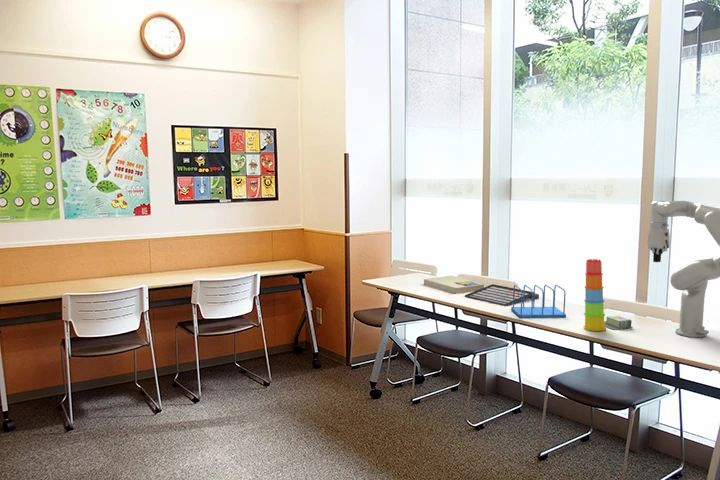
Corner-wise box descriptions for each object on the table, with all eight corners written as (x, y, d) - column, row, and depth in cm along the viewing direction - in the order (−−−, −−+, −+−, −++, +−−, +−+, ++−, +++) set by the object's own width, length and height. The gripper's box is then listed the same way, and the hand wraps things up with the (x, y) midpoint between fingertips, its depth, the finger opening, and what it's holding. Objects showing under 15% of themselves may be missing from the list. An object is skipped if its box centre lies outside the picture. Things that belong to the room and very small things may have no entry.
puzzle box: (451, 281, 410) (423, 285, 398) (451, 275, 409) (423, 278, 398) (484, 291, 378) (455, 294, 367) (484, 284, 377) (455, 287, 366)
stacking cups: (592, 332, 278) (595, 262, 274) (578, 327, 288) (581, 259, 284) (610, 330, 281) (613, 260, 277) (596, 325, 291) (599, 257, 287)
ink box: (620, 321, 282) (601, 314, 295) (619, 328, 283) (601, 322, 296) (631, 319, 284) (612, 313, 297) (631, 327, 285) (612, 321, 298)
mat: (632, 327, 286) (632, 327, 286) (613, 330, 282) (613, 329, 282) (613, 321, 298) (613, 320, 298) (594, 323, 294) (594, 322, 294)
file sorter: (519, 318, 307) (520, 290, 305) (510, 310, 324) (511, 283, 322) (566, 317, 307) (567, 289, 305) (555, 309, 324) (556, 283, 322)
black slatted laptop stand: (506, 315, 334) (539, 300, 353) (506, 304, 333) (538, 290, 351) (465, 303, 359) (497, 290, 378) (464, 292, 358) (497, 279, 376)
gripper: (677, 226, 280) (675, 263, 282) (652, 223, 294) (650, 259, 296) (665, 227, 278) (663, 264, 280) (641, 224, 292) (639, 260, 294)
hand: (656, 261), depth 288 cm, fingers closed
